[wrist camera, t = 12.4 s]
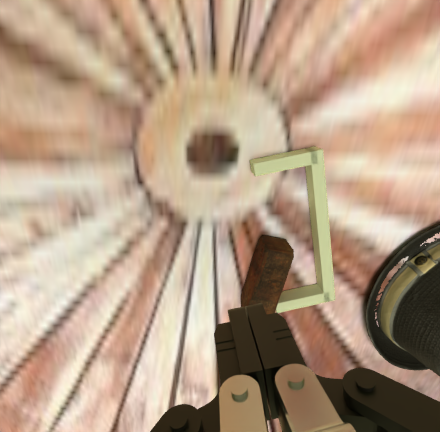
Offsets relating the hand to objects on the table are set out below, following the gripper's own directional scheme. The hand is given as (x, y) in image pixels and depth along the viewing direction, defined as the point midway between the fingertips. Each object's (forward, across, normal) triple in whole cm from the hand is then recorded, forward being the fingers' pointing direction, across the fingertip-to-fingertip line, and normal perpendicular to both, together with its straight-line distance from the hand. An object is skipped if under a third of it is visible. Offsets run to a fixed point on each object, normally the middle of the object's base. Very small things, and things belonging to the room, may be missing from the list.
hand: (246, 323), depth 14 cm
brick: (+29, -5, +15) cm, 33 cm away
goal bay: (+29, -10, +10) cm, 32 cm away
